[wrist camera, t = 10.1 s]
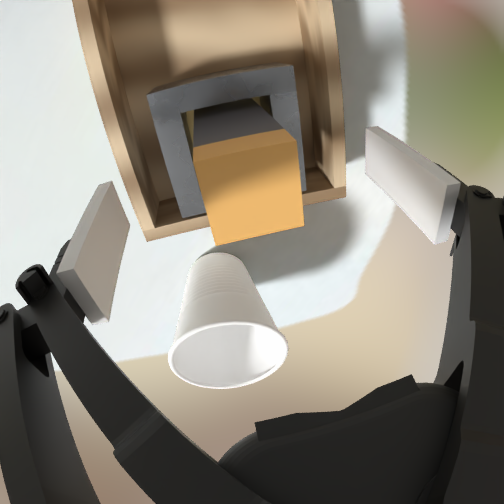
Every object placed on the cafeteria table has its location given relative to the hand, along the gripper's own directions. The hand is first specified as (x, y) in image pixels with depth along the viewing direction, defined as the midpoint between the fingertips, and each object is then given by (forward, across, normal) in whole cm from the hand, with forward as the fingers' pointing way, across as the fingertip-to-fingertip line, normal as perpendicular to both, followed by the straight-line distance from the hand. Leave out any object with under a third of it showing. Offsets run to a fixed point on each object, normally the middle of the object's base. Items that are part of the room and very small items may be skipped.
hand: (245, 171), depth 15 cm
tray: (+11, 0, +4) cm, 12 cm away
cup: (+11, -4, -16) cm, 20 cm away
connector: (+10, 0, -1) cm, 10 cm away
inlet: (+11, 0, -1) cm, 11 cm away
